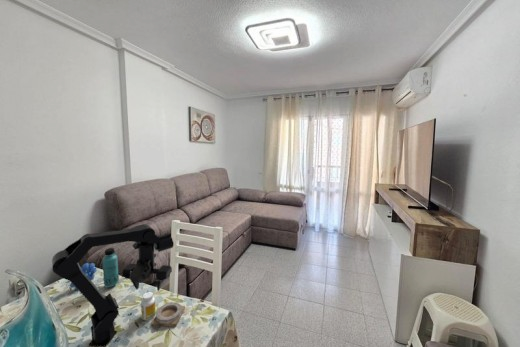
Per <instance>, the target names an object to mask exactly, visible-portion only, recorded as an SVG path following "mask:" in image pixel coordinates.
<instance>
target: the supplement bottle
mask: <svg viewBox="0 0 520 347" xmlns="http://www.w3.org/2000/svg"><path fill="white" fill-rule="evenodd" d="M140 310H141V319H142V320H144V321H148V320H151V319H154V318H155V317H156V312H157V310H156V298H155V297H154V293H153V292H150V291H148V292H146V293H144V294H143V295H142V300H141V302H140Z"/></svg>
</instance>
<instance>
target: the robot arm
mask: <svg viewBox="0 0 520 347" xmlns="http://www.w3.org/2000/svg"><path fill="white" fill-rule="evenodd" d="M126 242H132V243H133V242H134V243H133V244H132V246H131V247H132V248H133V249H134V250H137V251H138V252H137V253H138V259H137V260H136V263H129V264H128V265H127V266H125V267H124V268H123V269H122V270H121V273H120V274H121V278H124V279H127V280H130V281H131V283H132V285H133V286H134V288H135V291H136V290H139V287H140V284H142V283H144V282H145V280H149V278H150V277H151V275H152V274H153V275H154V274H155V277H156V278H155V280H156V287H157V288H156V289H157V290H156V291H157V292H159V291H160V290H161V287H162V284H163V281H164V280H167V279H168V277H169V276H170V274H171V273H172V271H173V268H172V266H171V265H162V266H160V268H157V267H156V266H157V263H156V262H155V258H157V254H155V251H157V252H158V253H160V252H164V251H168V250H169V249H173V248H174V245H175V244H174V241H173V237H172V233H170V232H167V233H165V234H164V233H163V234H160V235H157V234H156V231H155V229H154V228H153V227H151V225H149V224H148V223H142V224H138V225H135V226H132V227H131V228H128V229H121V230H112V231H105V232H97V233H95V232H94V233H86V234H83V235H82V236H81V237H80V238H79V239H78V240H76V241H74V242H72V243H70V244H69V245H68V246H67V247H66V248H64V249H63V250H60V251H58V252H56V253H55V254H54V255H53V256H52V259H51V263H52V264H51V265H52V266H51V268H52V271H53V273H54V274H56V276H58V277H60V278H61V279H64V280H67V281H69V282H70V284H71V283H72V284H73V285H74V286H75V287H76V288H77V289H78V290H77V291H79V293H80V294H82V296H83V297H84V298H85V299H86V300H87V301H88V302H89V303H90V305H91V306H93V309H94V310H95V311H94V313H93V314H91V316H90V321H91V324H92V325H91V327H90V331H91V333H90V334H91V341H90V342H89V343H88V346H89V347H107V346H108V344H109V343H110V342H111V341H112V340H113V338H114V337H115V336H116V334H117V332H118V330H116V327H115V325H114V322H115V320H116V318H117V317H118V315H119V309H120V307H119V304H118V301H117V300H116V298H114V297H113V296H112V294H111V292H109V293H108V294H107V295H105V294H103V293H102V292H101V290H99V288H98V287H97V286H96V285H95V283H94V282H93V280H90V279H89V278H88V277H87V275H86V274H85V273H84V272H83V271H82V270H81V268H82V267H81V266H80V263H79V262H80V261H81V260H83V258H84V257H85V256H86V255H87V253H88V252H89V251H90V250H91V249H92V248H93V247H94V248H95V247H100V246H107V245H113V244H120V243H121V244H122V243H126ZM80 267H81V268H80ZM75 287H74V288H75Z"/></svg>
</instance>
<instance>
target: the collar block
mask: <svg viewBox="0 0 520 347" xmlns="http://www.w3.org/2000/svg"><path fill="white" fill-rule="evenodd" d="M185 310H186V305H181V304H180V303H179V302H167V303H164V304H162V305H161V306H160V307H159V308H158V309H157V310H156V314H155V316H154V318H153V320H152V322H151V325H152V326H155V327H176V328H177V325H178V323H179V321H180V320H181V317H182V315H183V314H184V311H185Z"/></svg>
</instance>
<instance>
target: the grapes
mask: <svg viewBox="0 0 520 347" xmlns="http://www.w3.org/2000/svg"><path fill="white" fill-rule="evenodd" d="M95 266H96V264H95V263H93V262H92V263H88V262H85V263H84V264H83V265H82V267H81V266H80V268H81V270H82V271H83V272H84V273H85V274H86V275H87V277H88V278H89V279H90V280H91V281H93V280H94V278H95V273H97V271H98V269H97V267H95ZM69 287H70V288H72V289H73V288H74V289H75V290H76V291H79V290H78V289H77V288H76V287H75V286H74V285H73V284H72V283H71V282H70V284H69Z"/></svg>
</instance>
